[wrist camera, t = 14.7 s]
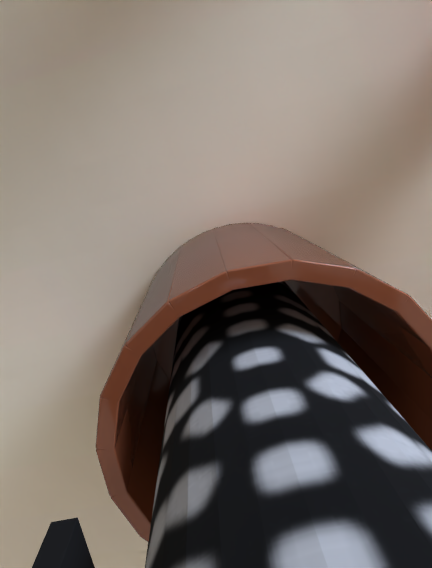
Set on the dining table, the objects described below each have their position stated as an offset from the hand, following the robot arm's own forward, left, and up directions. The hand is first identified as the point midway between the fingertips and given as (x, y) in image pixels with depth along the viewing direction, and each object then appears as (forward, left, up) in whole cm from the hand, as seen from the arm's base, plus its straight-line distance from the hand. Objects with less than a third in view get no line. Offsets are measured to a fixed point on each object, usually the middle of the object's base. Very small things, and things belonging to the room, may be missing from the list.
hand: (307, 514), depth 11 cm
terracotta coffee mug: (0, -3, -15) cm, 15 cm away
